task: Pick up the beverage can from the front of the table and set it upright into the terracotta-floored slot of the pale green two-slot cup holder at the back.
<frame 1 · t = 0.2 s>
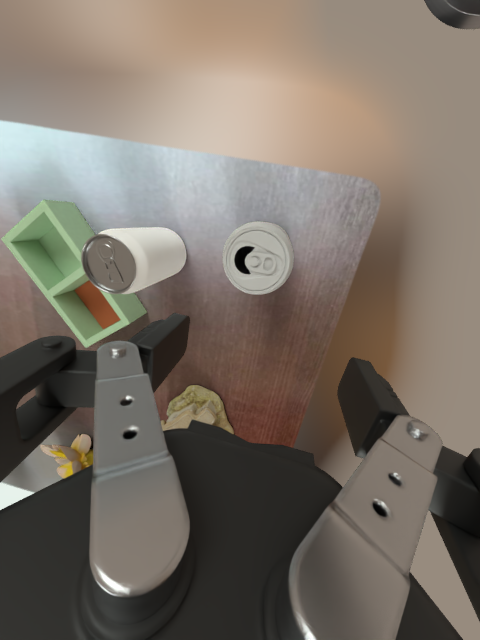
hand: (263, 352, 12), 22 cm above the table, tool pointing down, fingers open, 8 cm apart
decorative flower: (87, 448, 53), on the table
can: (166, 252, 34), on the table
ceramic model: (204, 417, 44), on the table
beverage can: (266, 248, 32), on the table
cup holder: (91, 275, 37), on the table
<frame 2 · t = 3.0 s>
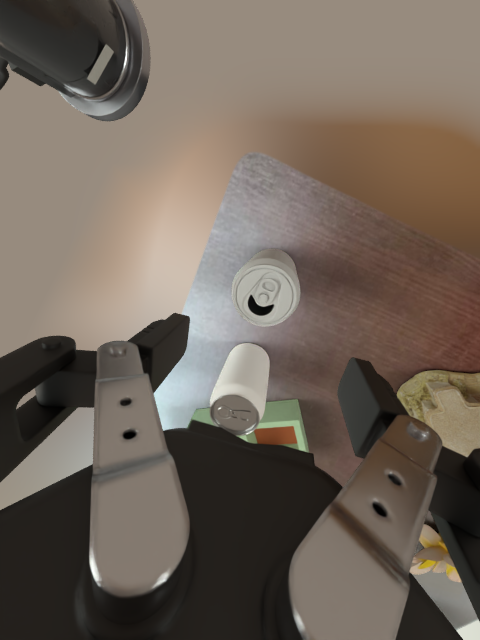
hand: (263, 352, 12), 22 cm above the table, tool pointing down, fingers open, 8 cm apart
decorative flower: (437, 534, 44), on the table
can: (249, 359, 38), on the table
ceramic model: (452, 398, 35), on the table
beverage can: (271, 272, 33), on the table
cup holder: (250, 426, 43), on the table
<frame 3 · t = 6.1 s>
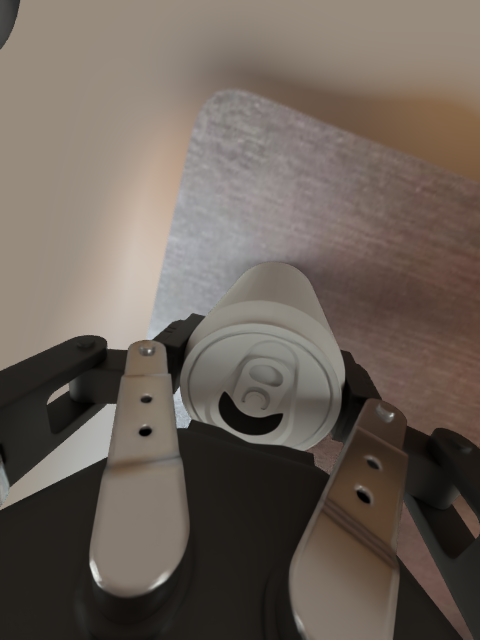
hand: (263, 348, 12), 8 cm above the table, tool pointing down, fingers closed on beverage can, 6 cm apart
beverage can: (272, 300, 20), on the table, touching gripper
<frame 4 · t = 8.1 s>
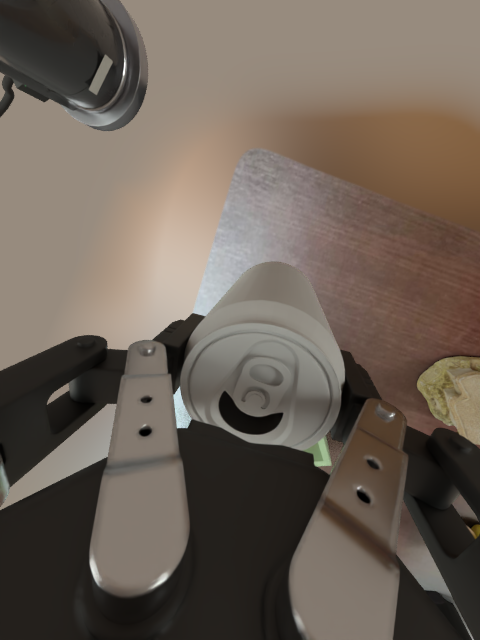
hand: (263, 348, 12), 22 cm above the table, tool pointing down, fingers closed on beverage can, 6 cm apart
portable speaker: (429, 600, 51), on the table
ceramic model: (475, 385, 33), on the table
beverage can: (272, 299, 20), point 14 cm above the table, touching gripper
cup holder: (267, 425, 42), on the table
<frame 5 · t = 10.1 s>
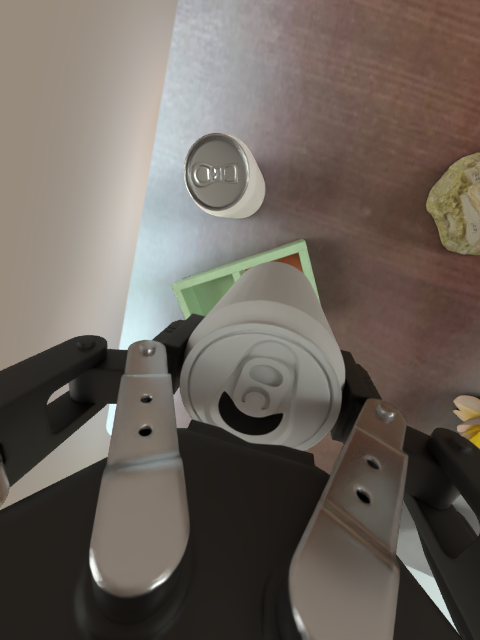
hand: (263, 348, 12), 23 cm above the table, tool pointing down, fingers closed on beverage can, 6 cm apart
portable speaker: (435, 513, 45), on the table
can: (240, 191, 31), on the table
beverage can: (272, 300, 20), point 16 cm above the table, touching gripper
cup holder: (249, 290, 36), on the table
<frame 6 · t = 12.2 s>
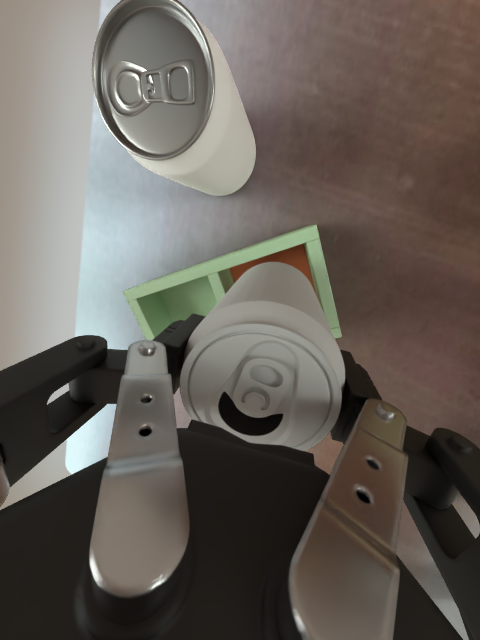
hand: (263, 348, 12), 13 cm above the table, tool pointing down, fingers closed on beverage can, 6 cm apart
portable speaker: (479, 583, 35), on the table
can: (220, 156, 22), on the table
beverage can: (272, 300, 20), point 6 cm above the table, touching gripper
cup holder: (236, 299, 26), on the table
when the fingers open (9 cm above the table, at t = 14.1 s): beverage can stays where it is, resting on cup holder.
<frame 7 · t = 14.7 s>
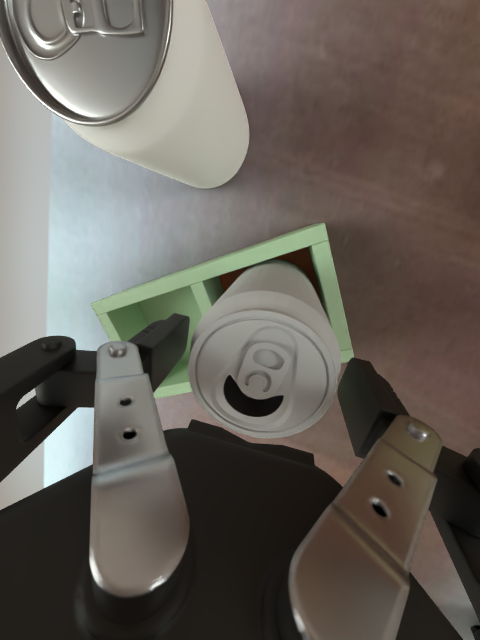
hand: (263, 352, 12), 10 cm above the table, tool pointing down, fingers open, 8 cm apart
can: (207, 140, 18), on the table
beverage can: (273, 296, 20), point 1 cm above the table, touching cup holder
cup holder: (228, 310, 22), on the table
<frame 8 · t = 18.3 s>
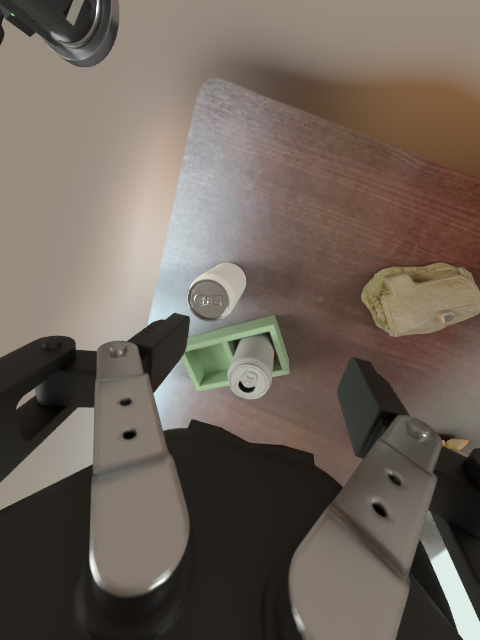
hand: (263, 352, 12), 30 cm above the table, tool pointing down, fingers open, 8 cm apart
portable speaker: (389, 518, 56), on the table
decorative flower: (418, 442, 47), on the table
can: (228, 280, 42), on the table
ceramic model: (410, 295, 38), on the table
beverage can: (257, 343, 45), point 1 cm above the table, touching cup holder
cup holder: (236, 348, 47), on the table
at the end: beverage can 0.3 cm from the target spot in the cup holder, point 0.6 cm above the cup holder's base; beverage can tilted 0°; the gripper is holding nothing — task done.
